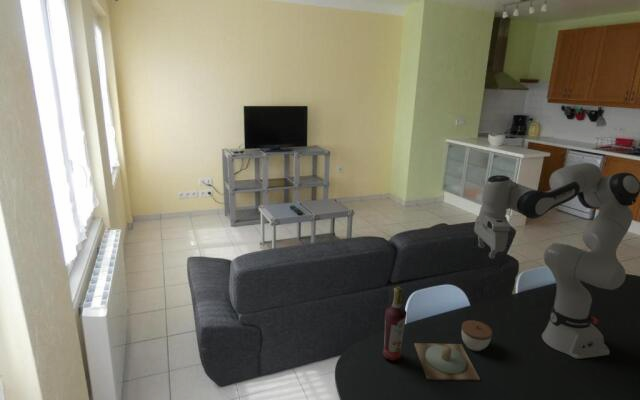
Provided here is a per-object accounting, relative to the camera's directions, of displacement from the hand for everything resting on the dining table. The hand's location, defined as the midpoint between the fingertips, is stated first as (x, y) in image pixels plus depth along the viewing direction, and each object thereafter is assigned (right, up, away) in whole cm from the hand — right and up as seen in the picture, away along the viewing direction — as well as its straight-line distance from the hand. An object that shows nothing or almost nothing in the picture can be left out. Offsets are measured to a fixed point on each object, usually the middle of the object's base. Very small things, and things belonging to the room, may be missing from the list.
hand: (486, 252), depth 147 cm
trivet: (-19, -38, -9) cm, 43 cm away
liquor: (-38, -37, -7) cm, 54 cm away
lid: (-19, -37, -9) cm, 43 cm away
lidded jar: (-5, -36, 0) cm, 36 cm away
